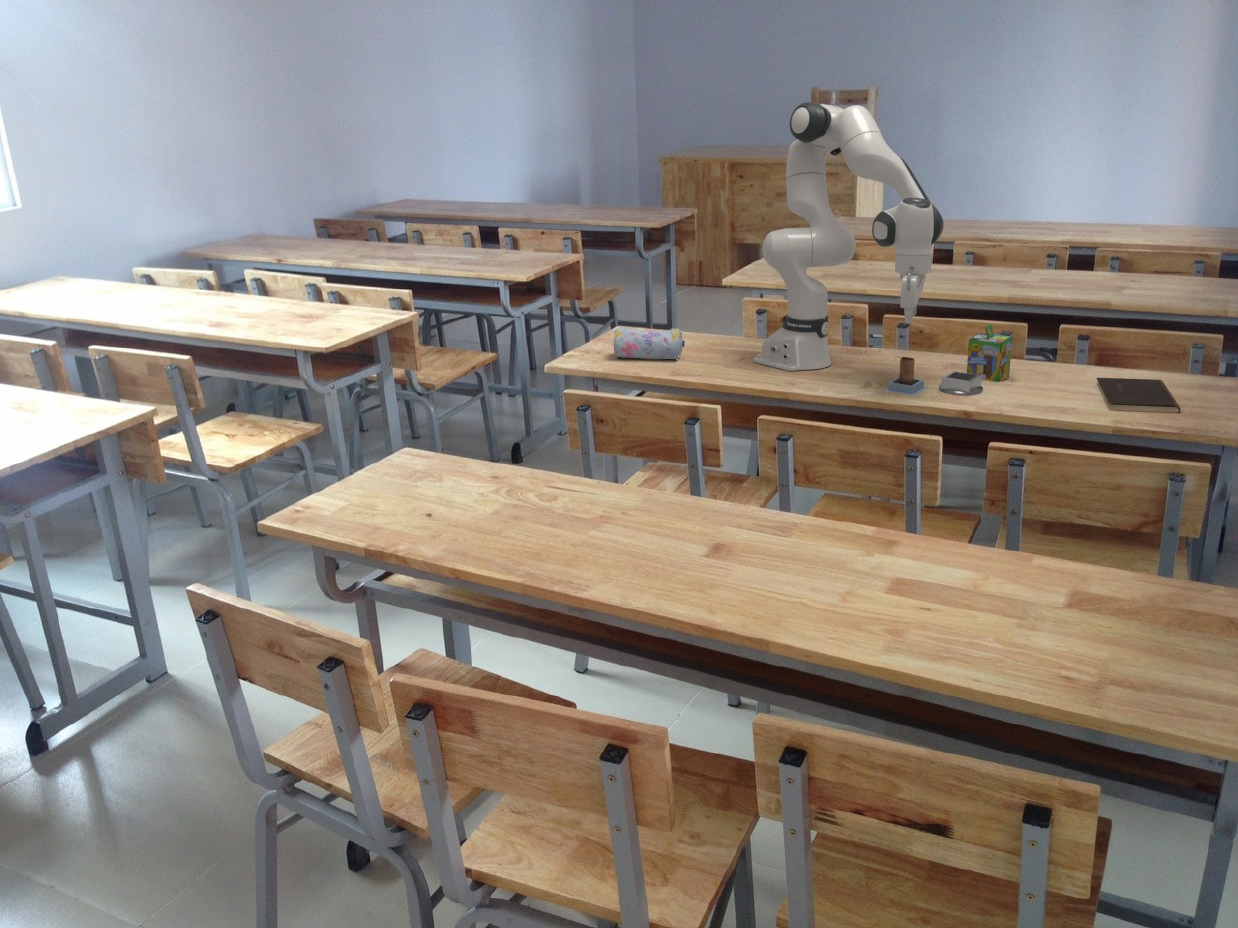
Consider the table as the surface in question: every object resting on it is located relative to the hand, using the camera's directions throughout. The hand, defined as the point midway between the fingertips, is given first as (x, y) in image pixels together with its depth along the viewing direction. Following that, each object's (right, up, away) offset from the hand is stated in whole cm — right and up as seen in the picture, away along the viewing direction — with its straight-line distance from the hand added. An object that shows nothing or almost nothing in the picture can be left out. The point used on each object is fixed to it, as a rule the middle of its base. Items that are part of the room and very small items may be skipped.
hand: (910, 318), depth 277 cm
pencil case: (-66, -6, +49) cm, 82 cm away
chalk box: (+25, -14, +16) cm, 33 cm away
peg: (+1, -17, +7) cm, 19 cm away
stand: (+1, -18, +7) cm, 20 cm away
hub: (+14, -19, +5) cm, 24 cm away
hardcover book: (+56, -21, -4) cm, 60 cm away
